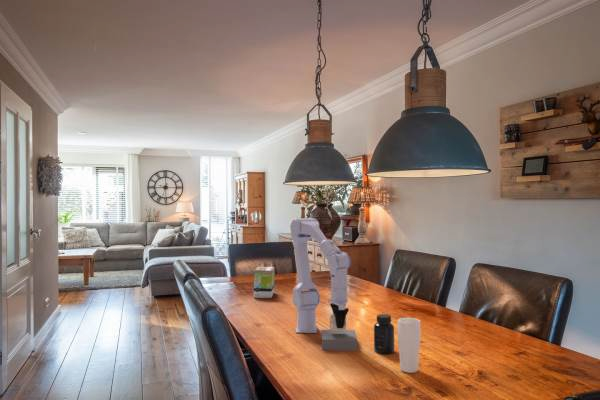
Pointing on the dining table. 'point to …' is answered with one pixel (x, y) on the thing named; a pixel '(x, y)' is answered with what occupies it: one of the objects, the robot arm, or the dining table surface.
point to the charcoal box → (339, 340)
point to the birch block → (333, 325)
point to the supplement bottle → (384, 335)
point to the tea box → (264, 282)
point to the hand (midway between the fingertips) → (339, 325)
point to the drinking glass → (409, 343)
